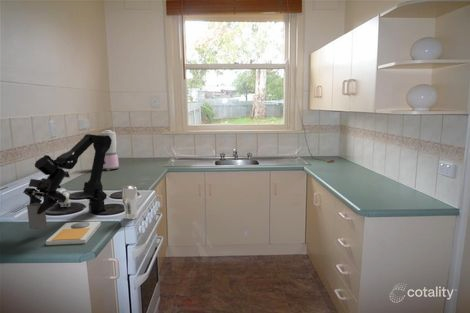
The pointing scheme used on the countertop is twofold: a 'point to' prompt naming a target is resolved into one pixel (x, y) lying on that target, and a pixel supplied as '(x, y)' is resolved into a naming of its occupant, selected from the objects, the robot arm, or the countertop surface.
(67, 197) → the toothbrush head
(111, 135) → the blender
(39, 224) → the chute block
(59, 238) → the white plate with inlay
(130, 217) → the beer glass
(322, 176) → the countertop surface
